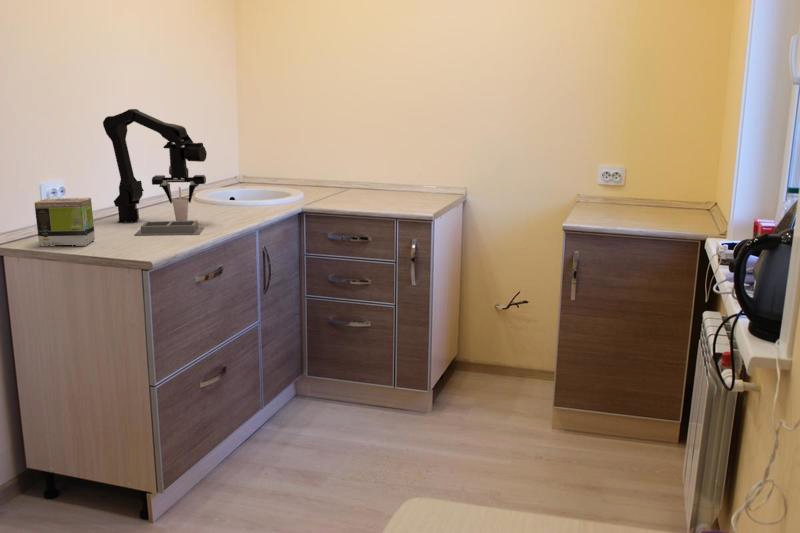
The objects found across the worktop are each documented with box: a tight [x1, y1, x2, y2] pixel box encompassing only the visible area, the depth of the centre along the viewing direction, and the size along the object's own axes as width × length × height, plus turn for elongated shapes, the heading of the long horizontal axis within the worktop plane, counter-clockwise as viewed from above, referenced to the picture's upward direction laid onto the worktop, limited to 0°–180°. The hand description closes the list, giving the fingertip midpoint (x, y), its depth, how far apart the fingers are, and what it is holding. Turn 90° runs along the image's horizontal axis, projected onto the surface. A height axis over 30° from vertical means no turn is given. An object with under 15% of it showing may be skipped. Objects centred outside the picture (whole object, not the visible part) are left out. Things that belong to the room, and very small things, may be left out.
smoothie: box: [172, 186, 189, 221], centre depth 293 cm, size 6×6×14 cm
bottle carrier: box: [134, 220, 205, 237], centre depth 280 cm, size 22×13×3 cm, turn 97°
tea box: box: [34, 197, 96, 247], centre depth 258 cm, size 15×10×15 cm, turn 92°
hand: (180, 203), depth 293 cm, fingers closed on smoothie, 6 cm apart
